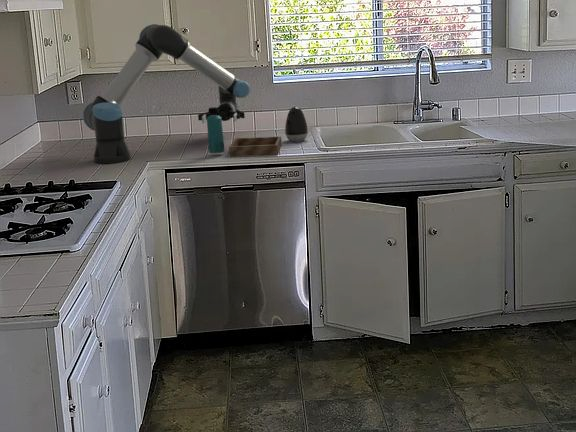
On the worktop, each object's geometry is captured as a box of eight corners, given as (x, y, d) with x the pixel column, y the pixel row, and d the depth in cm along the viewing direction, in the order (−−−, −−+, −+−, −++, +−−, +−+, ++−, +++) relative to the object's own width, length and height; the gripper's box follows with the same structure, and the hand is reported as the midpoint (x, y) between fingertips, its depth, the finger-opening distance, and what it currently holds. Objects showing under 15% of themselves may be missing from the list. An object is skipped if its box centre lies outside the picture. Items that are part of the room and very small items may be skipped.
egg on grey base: (282, 143, 380) (280, 108, 376) (289, 138, 389) (287, 105, 385) (304, 143, 377) (303, 108, 373) (311, 138, 386) (309, 104, 382)
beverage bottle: (222, 156, 357) (219, 108, 352) (207, 156, 358) (203, 108, 353) (226, 153, 363) (223, 106, 358) (211, 153, 364) (207, 106, 359)
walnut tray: (229, 156, 356) (229, 147, 355) (235, 147, 376) (235, 138, 374) (278, 154, 355) (277, 145, 354) (281, 145, 374) (281, 136, 373)
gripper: (253, 118, 387) (248, 126, 367) (198, 121, 389) (190, 129, 369) (252, 101, 385) (247, 108, 365) (197, 104, 387) (188, 112, 367)
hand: (218, 119), depth 367 cm, fingers open, 13 cm apart
